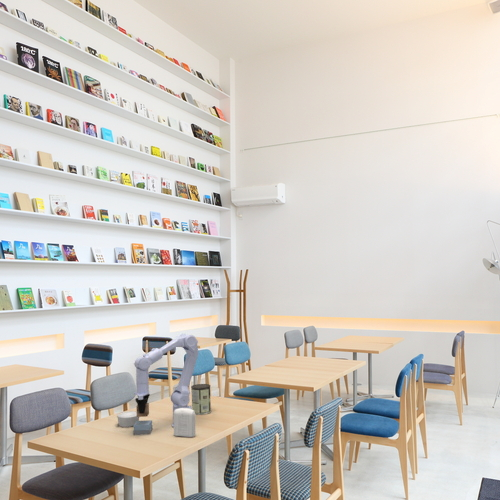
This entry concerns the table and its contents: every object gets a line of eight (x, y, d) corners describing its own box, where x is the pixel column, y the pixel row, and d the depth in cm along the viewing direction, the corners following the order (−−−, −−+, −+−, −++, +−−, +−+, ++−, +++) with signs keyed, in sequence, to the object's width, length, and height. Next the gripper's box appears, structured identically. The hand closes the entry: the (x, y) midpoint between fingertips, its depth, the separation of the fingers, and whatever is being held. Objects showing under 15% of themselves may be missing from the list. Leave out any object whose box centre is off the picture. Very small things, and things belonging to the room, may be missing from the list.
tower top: (152, 425, 228) (152, 420, 228) (148, 430, 221) (148, 424, 221) (137, 426, 228) (137, 420, 228) (133, 430, 221) (133, 424, 221)
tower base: (152, 430, 229) (152, 425, 229) (150, 435, 221) (150, 430, 221) (135, 431, 228) (135, 425, 228) (133, 436, 220) (133, 431, 220)
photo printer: (197, 435, 218) (196, 407, 219) (193, 437, 214) (192, 409, 215) (176, 433, 221) (176, 406, 222) (172, 436, 217) (172, 408, 218)
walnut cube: (148, 413, 228) (148, 402, 228) (147, 416, 223) (147, 405, 223) (138, 414, 227) (138, 403, 228) (136, 416, 222) (136, 406, 223)
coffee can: (199, 408, 264) (199, 383, 265) (214, 411, 258) (214, 384, 259) (187, 413, 255) (187, 386, 256) (202, 415, 250) (202, 388, 251)
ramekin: (134, 428, 231) (134, 417, 231) (112, 427, 233) (112, 416, 234) (143, 421, 242) (143, 411, 242) (123, 421, 244) (123, 410, 245)
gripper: (136, 380, 233) (136, 408, 232) (131, 386, 219) (131, 416, 218) (150, 379, 234) (151, 407, 233) (147, 385, 219) (147, 415, 218)
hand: (142, 411), depth 225 cm, fingers closed on walnut cube, 5 cm apart
